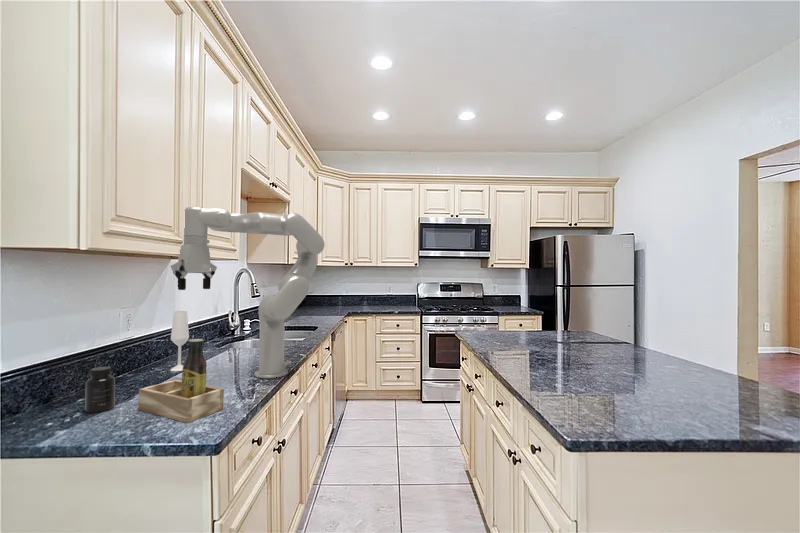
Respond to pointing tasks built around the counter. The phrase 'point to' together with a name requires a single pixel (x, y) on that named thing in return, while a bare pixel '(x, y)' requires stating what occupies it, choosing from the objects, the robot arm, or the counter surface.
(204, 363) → the sauce bottle
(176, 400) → the rail
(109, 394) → the supplement bottle
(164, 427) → the counter surface
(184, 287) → the robot arm
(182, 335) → the champagne flute
